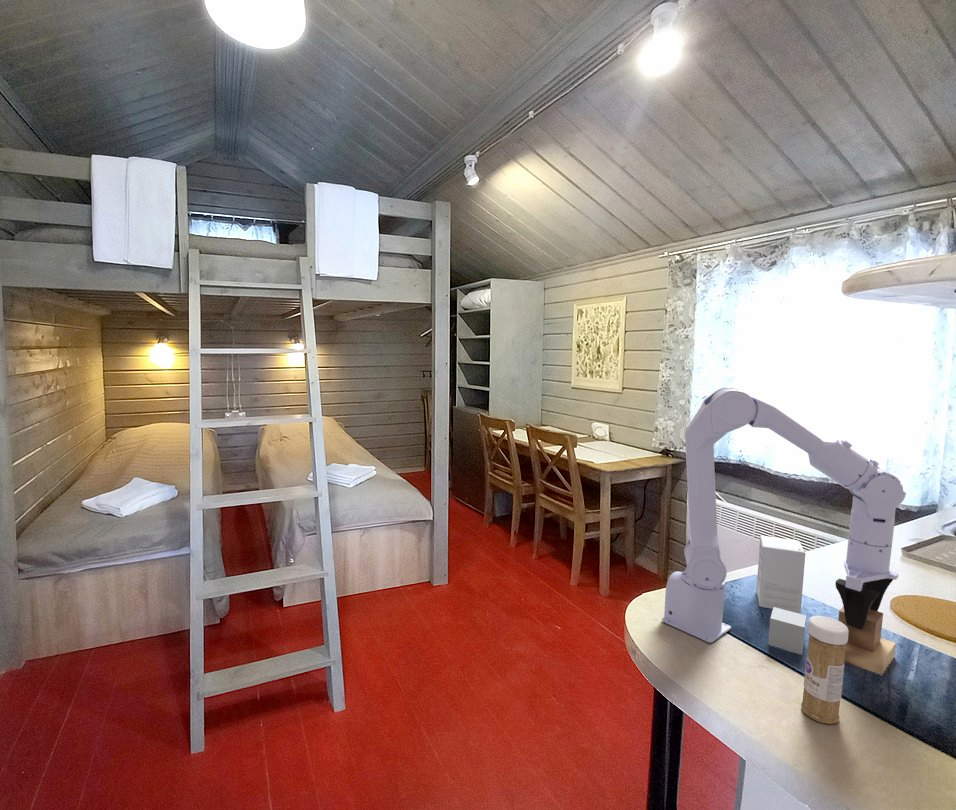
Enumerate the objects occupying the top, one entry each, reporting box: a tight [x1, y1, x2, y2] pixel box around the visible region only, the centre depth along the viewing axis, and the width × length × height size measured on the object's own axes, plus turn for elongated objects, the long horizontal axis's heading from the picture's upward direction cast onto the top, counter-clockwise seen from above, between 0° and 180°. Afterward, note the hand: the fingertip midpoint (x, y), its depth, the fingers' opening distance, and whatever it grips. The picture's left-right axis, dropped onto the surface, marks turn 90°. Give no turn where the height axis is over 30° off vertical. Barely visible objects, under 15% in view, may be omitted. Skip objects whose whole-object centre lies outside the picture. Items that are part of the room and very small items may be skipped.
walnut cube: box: [837, 606, 884, 652], centre depth 86 cm, size 5×5×5 cm
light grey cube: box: [767, 607, 807, 656], centre depth 90 cm, size 5×5×5 cm
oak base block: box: [844, 637, 897, 675], centre depth 87 cm, size 8×8×3 cm
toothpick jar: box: [800, 615, 849, 725], centre depth 71 cm, size 5×5×13 cm
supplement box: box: [755, 535, 806, 614], centre depth 104 cm, size 7×7×13 cm
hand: (861, 619), depth 86 cm, fingers open, 7 cm apart
